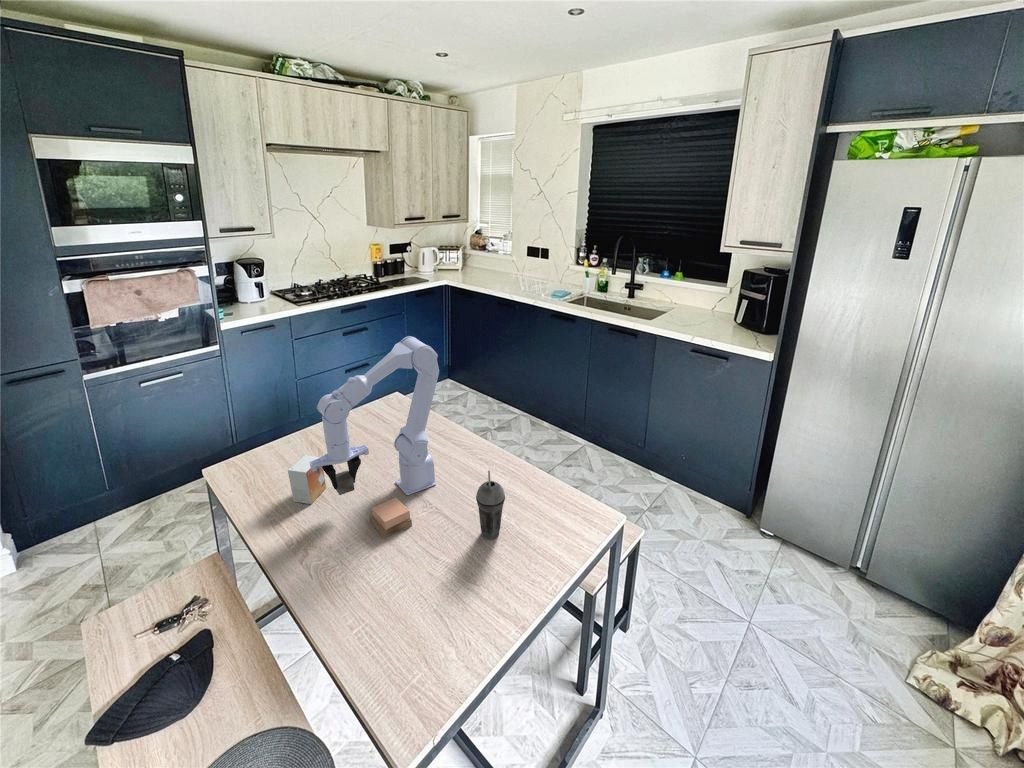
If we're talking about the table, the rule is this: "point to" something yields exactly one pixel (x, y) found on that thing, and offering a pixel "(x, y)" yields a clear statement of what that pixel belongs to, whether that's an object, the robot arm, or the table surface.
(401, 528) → the walnut slab
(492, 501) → the beverage cup
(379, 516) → the terracotta slab
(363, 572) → the table surface
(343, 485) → the charcoal cube
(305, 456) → the small box
